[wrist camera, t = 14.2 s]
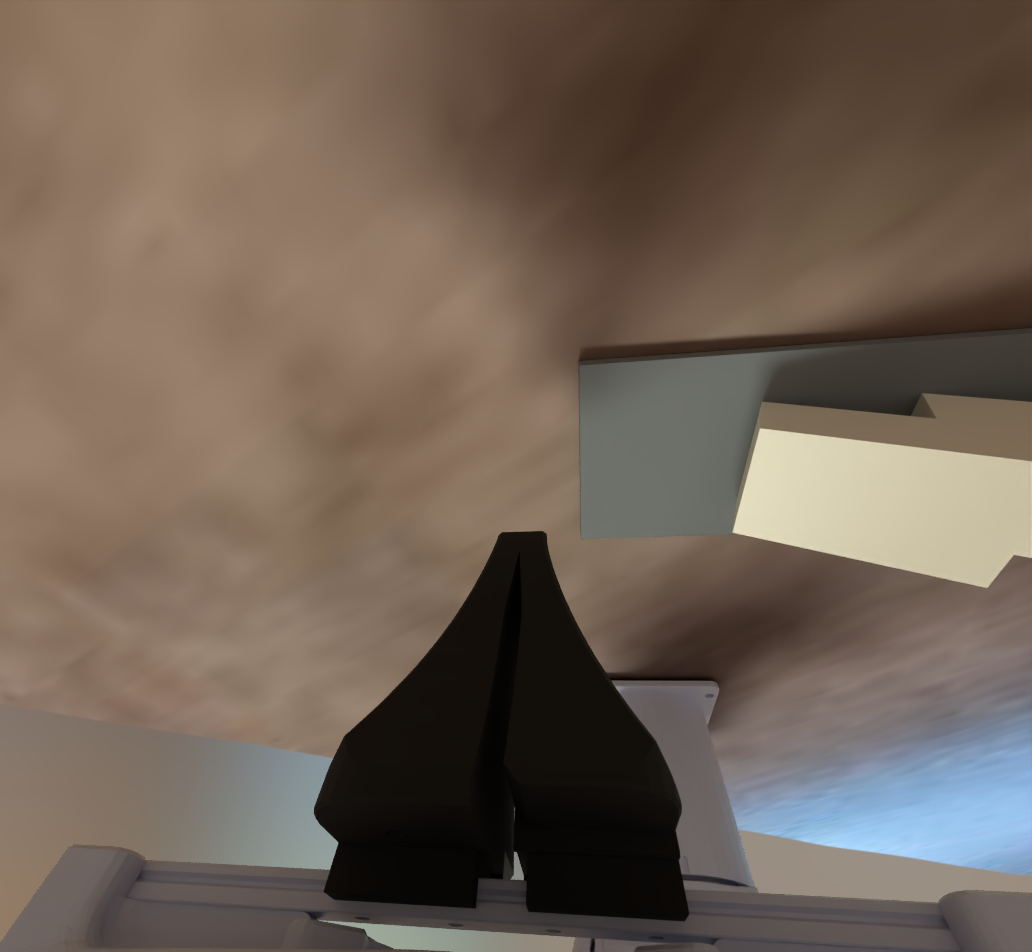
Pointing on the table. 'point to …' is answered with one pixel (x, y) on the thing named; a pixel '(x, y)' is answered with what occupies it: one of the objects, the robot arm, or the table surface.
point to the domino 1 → (889, 489)
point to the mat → (751, 416)
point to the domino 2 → (978, 420)
